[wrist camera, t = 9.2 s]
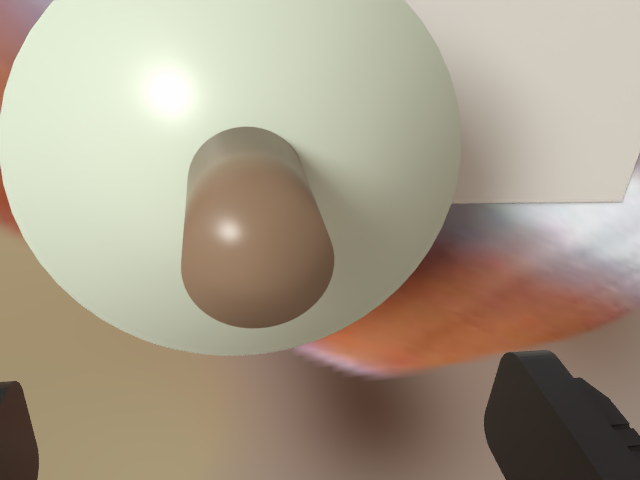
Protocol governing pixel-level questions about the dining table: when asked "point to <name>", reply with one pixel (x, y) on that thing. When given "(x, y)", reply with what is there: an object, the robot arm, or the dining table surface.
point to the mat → (541, 96)
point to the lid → (230, 162)
